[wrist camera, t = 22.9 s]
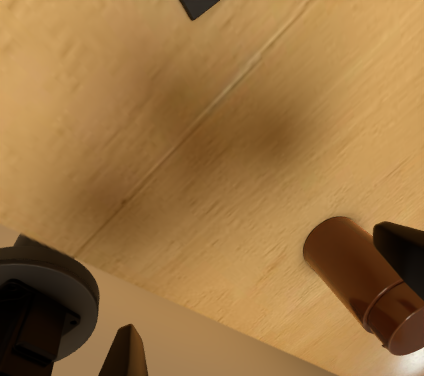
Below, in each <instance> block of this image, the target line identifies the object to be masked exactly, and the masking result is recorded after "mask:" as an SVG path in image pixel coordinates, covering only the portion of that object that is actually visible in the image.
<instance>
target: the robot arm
mask: <svg viewBox="0 0 424 376" xmlns="http://www.w3.org/2000/svg"><path fill="white" fill-rule="evenodd" d="M373 245H374V247H375V249H376V250H377V251H378V252H379V253H380V254H381V256H382V257H383V258H384V259H385V260H386V262H387V263H388V264H389V265H390V266H391V267H392V269H393V270H394V271H395V272H396V273H397V274H398V276H399V277H400V278H401V279H402V280H403V281H404V282H405V283H406V284H407V285H408V286H409V287H410V288H411V289H412V290H413V291H414V292H415V293H416V294H417V295H418V296H419V297H420V298H421V299H422V300H423V301H424V231H421V230H417V229H414V228H410V227H406V226H402V225H399V224H395V223H391V222H387V221H384V222H381V223H379V224H376V225H375V226H374V228H373ZM10 285H13V286H15V287H12V286H10ZM73 320H75V321H73ZM80 320H81V316H80V315H79V314H77V313H75V312H73V311H72V310H70V309H68V308H67V307H65V306H63V305H61V304H60V303H58V302H56V301H55V300H53V299H51V298H49V297H48V296H46V295H44V294H43V293H41V292H39V291H37V290H36V289H34V288H32V287H31V286H29V285H27V284H26V283H24V282H22V281H20V280H18V279H14V278H13V279H9V280H7V281H6V282H4V283H3V284H2V285H0V376H51V374H52V369H53V365H54V361H55V360H56V359H57V356H58V351H59V346H60V342H61V337H63V336H64V335H65V334H67V333H68V332H70V331H71V330H72V329H74V328H75V327H76V326H78V325H79V324H80ZM98 376H148V371H147V365H146V360H145V353H144V348H143V342H142V339H141V337H140V335H139V334H138V332H137V331H136V329H135V327H134V326H133V325H132V324H128V325H126V326H123V327H121V328H120V329H119V330H118V332H117V334H116V336H115V339H114V341H113V343H112V345H111V348H110V350H109V353H108V355H107V357H106V359H105V362H104V364H103V366H102V369H101V371H100V373H99V375H98Z"/></svg>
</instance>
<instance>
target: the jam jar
mask: <svg viewBox="0 0 424 376" xmlns="http://www.w3.org/2000/svg"><path fill="white" fill-rule="evenodd" d="M303 253H304V258H305V260H306V261H307V263H308V264H309V265H310V266H311V267H312V268H313V270H314V271H315V272H316V273H317V274H318V275H319V277H320V278H321V279H322V280H323V281H324V282H325V284H326V285H327V286H328V287H329V288H330V289H331V291H332V292H333V293H334V294H335V295H336V296H337V298H338V299H339V300H340V301H341V302H342V303H343V305H344V306H345V307H346V308H347V309H348V310H349V312H350V313H351V314H352V315H353V316H354V317H355V319H356V320H357V321H358V322H359V323H360V324H361V326H362V327H363V328H364V329H365V330H366V331H367V332H369V333H372V334H375V336H376V337H377V338H378V339H379V340H380V341H381V342H382V344H383V345H382V346H383V347H384V348H386V349H388V350H389V352H390V353H392V354H394V355H398V356H401V355H407V354H410V353H413V352H415V351H417V350H419V349H421V348H423V347H424V301H423V300H422V299H421V298H420V297H419V296H418V295H417V294H416V293H415V292H414V291H413V290H412V289H411V288H410V287H409V286H408V285H407V284H406V283H405V282H404V281H403V280H402V279H401V278H400V277H399V276H398V274H397V273H396V272H395V271H394V270H393V269H392V267H391V266H390V265H389V264H388V263H387V262H386V260H385V259H384V258H383V257H382V256H381V254H380V253H379V252H378V251H377V250H376V249H375V247H374V245H373V236H372V235H370V234H369V233H368V232H367V231H365V230H364V229H363V228H361V227H360V226H359V225H357V224H356V223H355V222H353V221H352V220H351V219H349V218H346V217H335V218H331V219H329V220H327V221H325V222H323V223H321V224H320V225H319V226H317V227H316V228H315V229H314V230H313V231H312V232H311V234H310V235H309V237H308V238H307V240H306V242H305V245H304V251H303Z"/></svg>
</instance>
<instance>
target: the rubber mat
mask: <svg viewBox="0 0 424 376" xmlns="http://www.w3.org/2000/svg"><path fill="white" fill-rule="evenodd" d="M180 1H181V3H182V5H183V6H184V8H185V10H186V12H187V13H188V15H189V17H190V19H191V20H195V19H196V18H197V17H199V16H200V15H201V14H203V13H204V12H205V11H207V10H208V9H209V8H210V7H212V6H213V5H214V4H216V3H217V2H218V1H220V0H180Z"/></svg>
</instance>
